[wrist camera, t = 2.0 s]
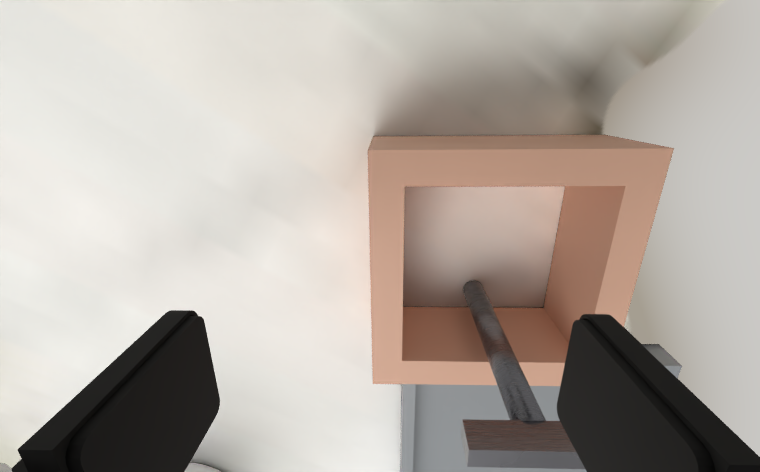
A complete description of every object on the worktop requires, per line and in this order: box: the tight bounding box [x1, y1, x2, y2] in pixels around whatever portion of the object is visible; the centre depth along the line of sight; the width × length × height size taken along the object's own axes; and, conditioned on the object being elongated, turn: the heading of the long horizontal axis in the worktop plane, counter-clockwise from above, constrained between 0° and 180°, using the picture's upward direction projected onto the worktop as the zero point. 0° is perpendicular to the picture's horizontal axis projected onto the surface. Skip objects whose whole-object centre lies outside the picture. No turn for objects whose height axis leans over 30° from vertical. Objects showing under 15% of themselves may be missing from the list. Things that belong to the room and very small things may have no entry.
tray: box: [400, 344, 682, 472], centre depth 26 cm, size 17×17×2 cm
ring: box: [368, 135, 674, 386], centre depth 19 cm, size 12×12×5 cm
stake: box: [461, 281, 585, 469], centre depth 17 cm, size 1×5×11 cm, turn 90°
